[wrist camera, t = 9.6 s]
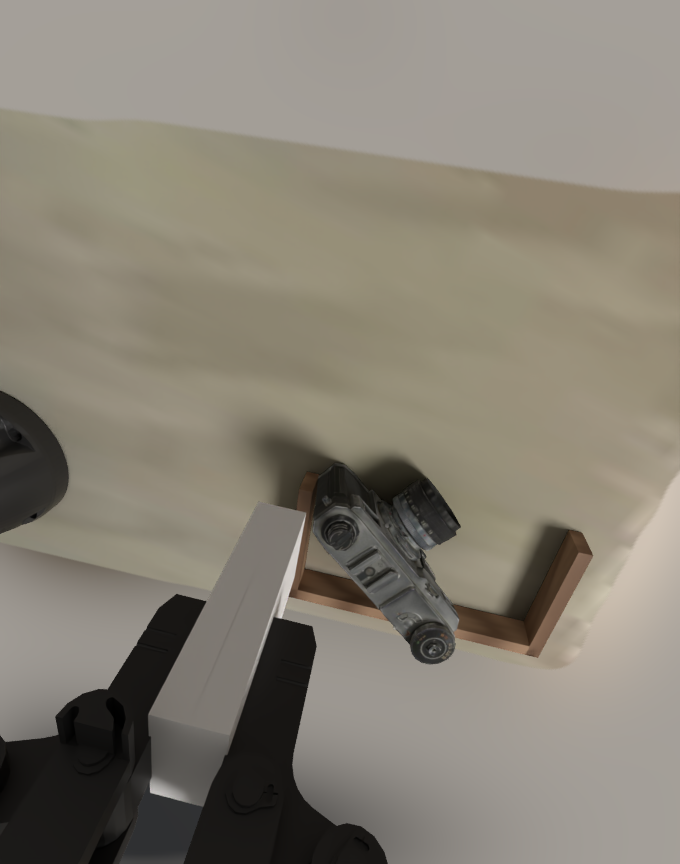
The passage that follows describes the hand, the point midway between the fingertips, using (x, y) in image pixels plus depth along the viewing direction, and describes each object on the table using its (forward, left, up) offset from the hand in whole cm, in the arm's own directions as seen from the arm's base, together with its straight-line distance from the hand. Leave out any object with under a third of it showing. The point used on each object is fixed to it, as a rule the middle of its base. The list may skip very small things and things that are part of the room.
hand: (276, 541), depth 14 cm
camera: (+7, -16, -25) cm, 30 cm away
